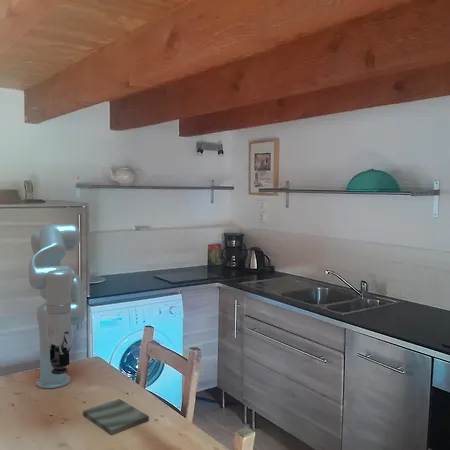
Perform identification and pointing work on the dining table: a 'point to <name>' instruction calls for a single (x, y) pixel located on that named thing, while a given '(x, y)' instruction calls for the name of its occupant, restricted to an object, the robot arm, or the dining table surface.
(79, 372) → the dining table surface
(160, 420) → the dining table surface
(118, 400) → the serving board
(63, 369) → the dark grey chess piece
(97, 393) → the dining table surface
